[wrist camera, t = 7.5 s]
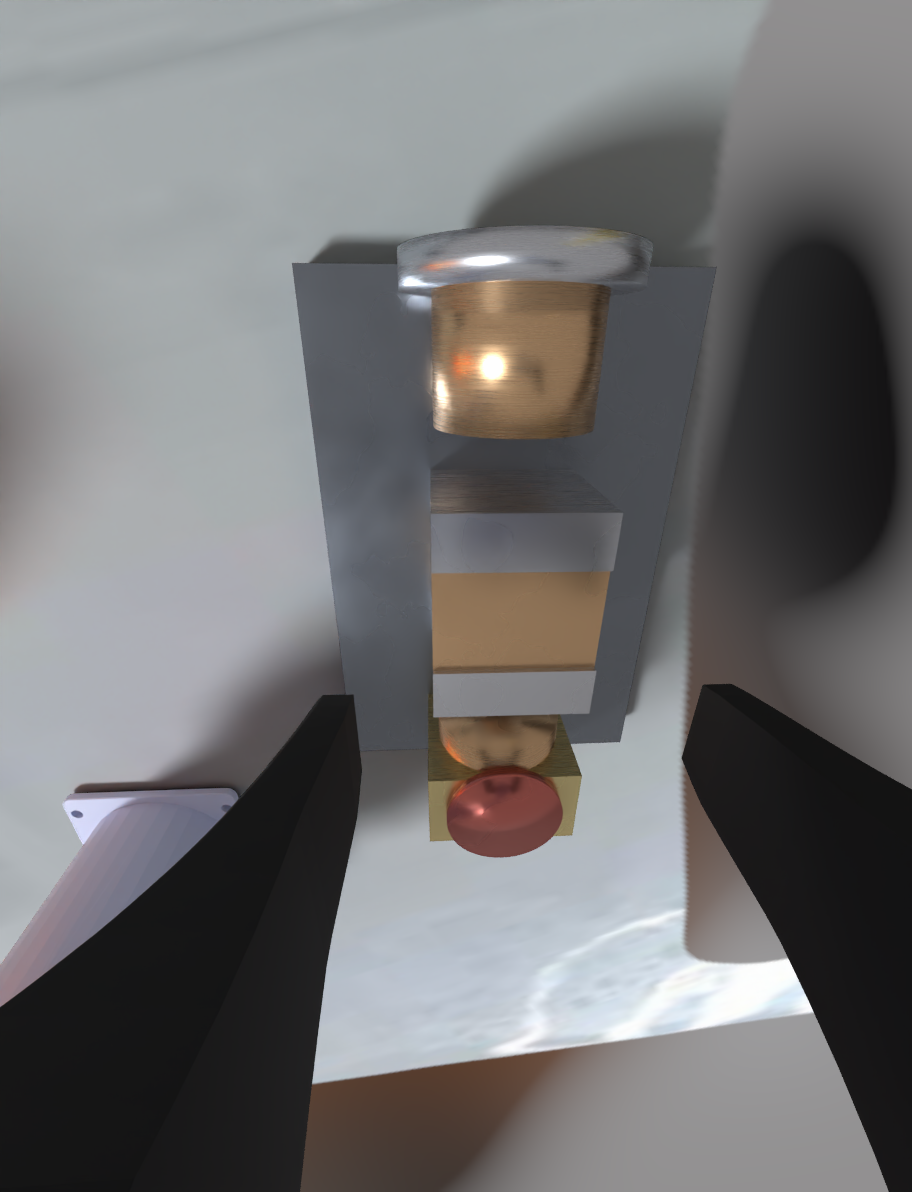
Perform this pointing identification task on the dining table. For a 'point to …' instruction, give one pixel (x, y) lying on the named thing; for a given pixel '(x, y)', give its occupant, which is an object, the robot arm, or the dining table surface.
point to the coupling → (517, 589)
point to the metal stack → (491, 441)
